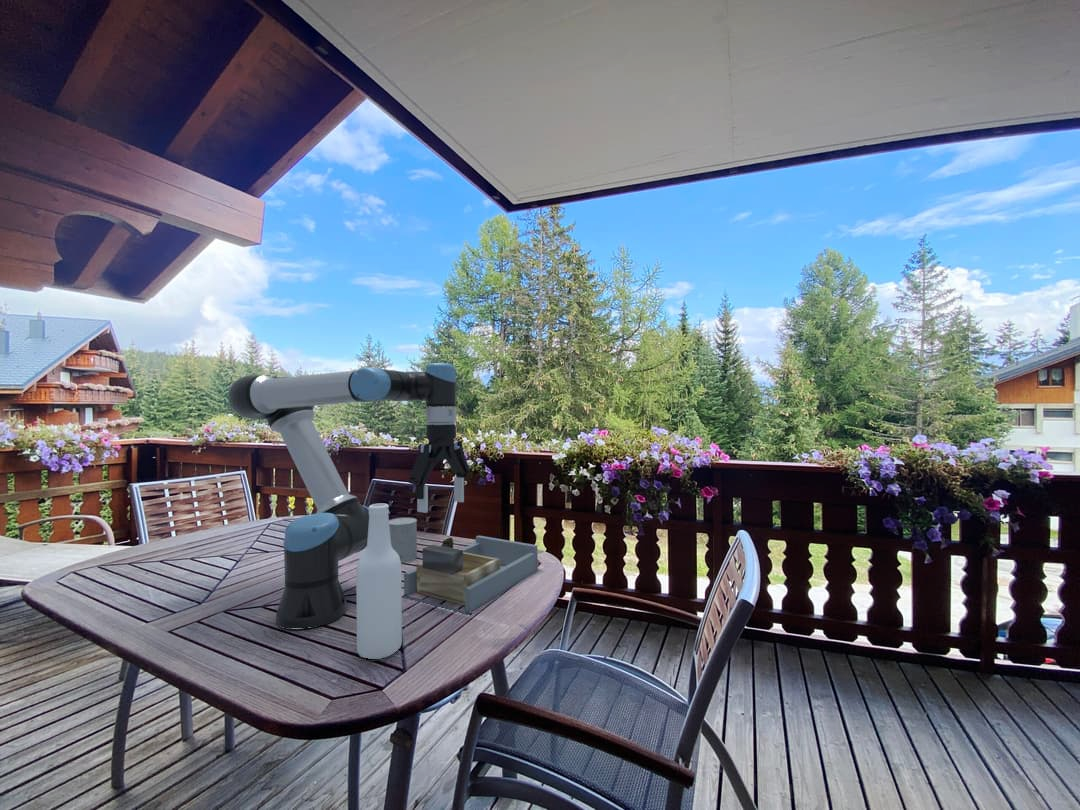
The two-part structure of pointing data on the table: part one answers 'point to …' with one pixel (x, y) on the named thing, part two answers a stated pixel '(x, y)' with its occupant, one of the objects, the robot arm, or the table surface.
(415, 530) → the grey cylindrical piece
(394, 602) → the alcohol
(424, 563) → the crate
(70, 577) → the table surface
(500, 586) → the bay
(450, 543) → the hand tool
